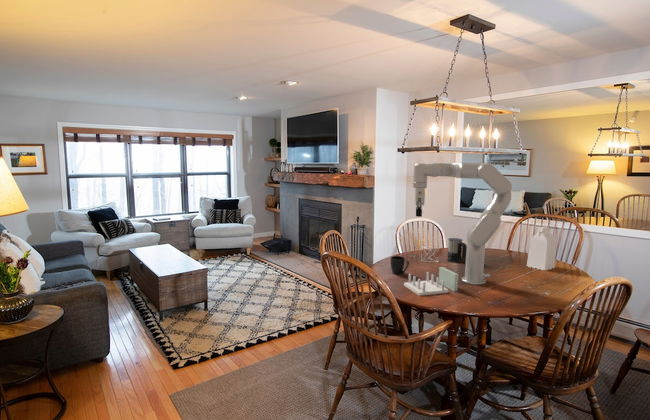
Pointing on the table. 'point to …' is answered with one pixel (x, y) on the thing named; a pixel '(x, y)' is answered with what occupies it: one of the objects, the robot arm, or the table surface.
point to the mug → (398, 264)
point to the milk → (542, 250)
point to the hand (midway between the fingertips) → (418, 215)
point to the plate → (448, 278)
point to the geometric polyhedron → (427, 253)
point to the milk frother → (456, 250)
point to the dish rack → (426, 286)
